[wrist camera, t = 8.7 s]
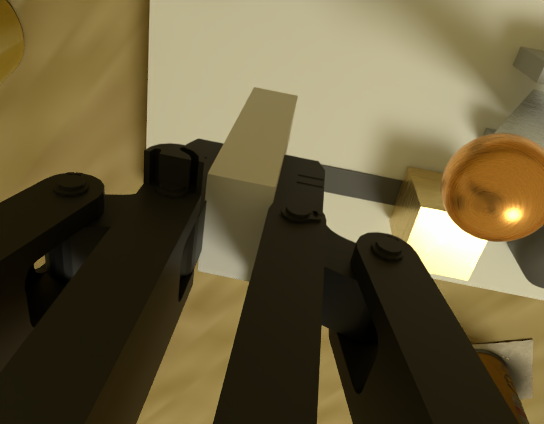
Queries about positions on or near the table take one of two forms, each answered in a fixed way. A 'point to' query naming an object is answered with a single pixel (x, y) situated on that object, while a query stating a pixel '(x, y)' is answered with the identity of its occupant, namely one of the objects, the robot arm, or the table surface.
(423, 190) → the brass slider
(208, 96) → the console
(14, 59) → the plant pot
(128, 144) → the table surface
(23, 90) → the table surface
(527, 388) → the condiment
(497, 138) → the toggle lever
